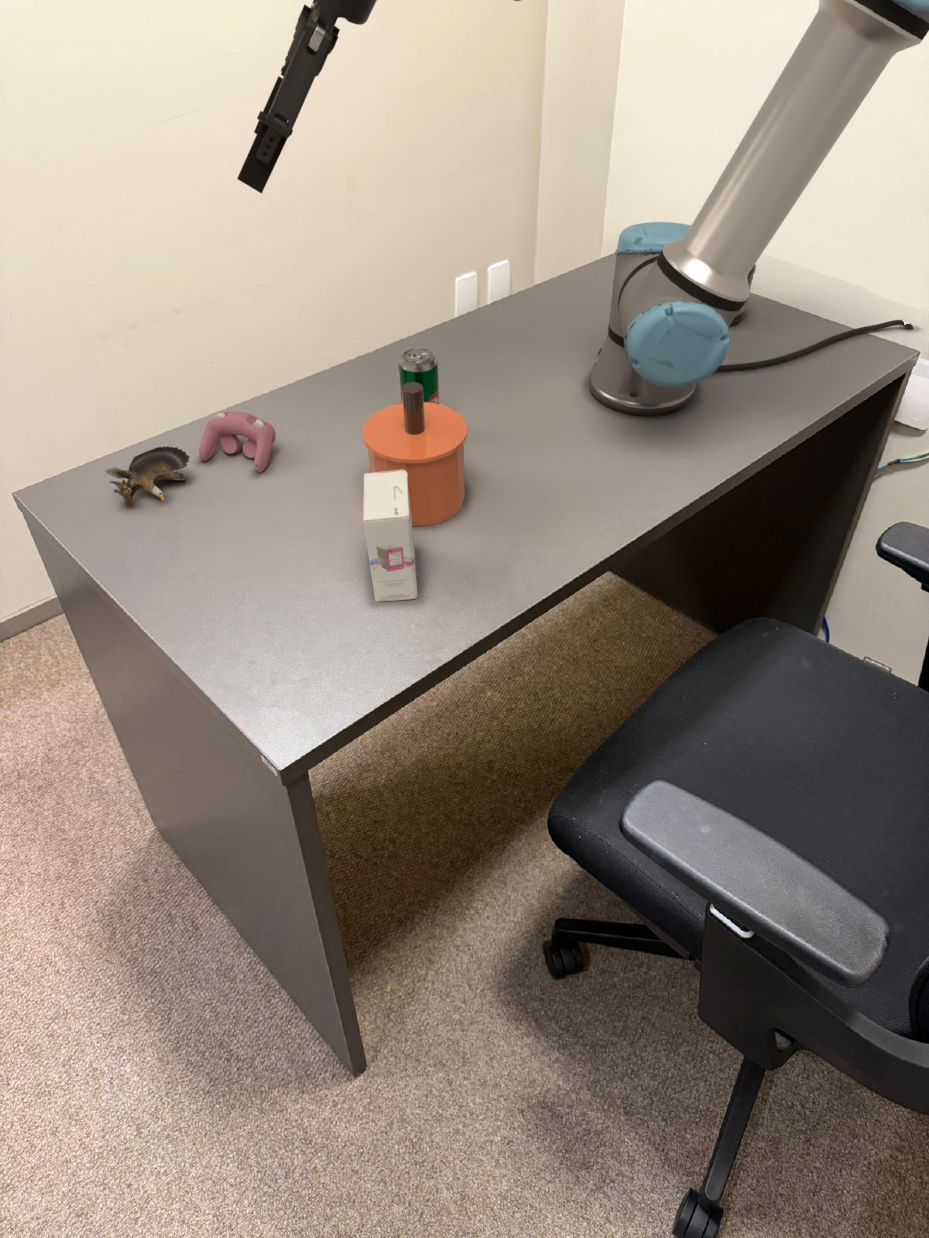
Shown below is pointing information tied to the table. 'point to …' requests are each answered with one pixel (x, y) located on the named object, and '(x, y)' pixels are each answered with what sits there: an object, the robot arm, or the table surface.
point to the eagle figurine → (149, 471)
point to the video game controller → (226, 431)
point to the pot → (430, 486)
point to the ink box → (389, 535)
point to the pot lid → (414, 429)
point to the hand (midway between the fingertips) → (257, 161)
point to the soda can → (420, 372)
